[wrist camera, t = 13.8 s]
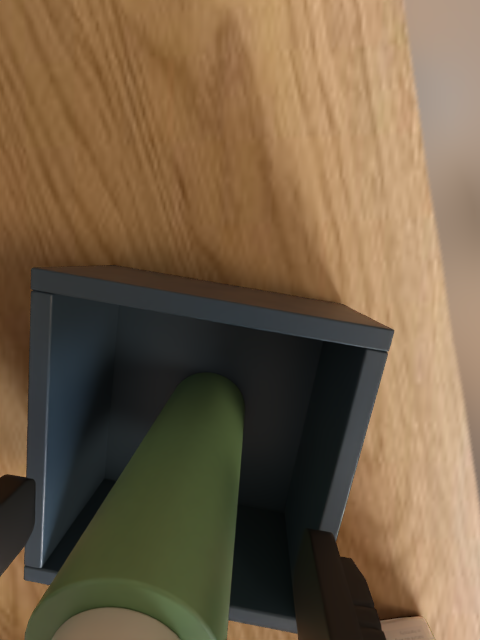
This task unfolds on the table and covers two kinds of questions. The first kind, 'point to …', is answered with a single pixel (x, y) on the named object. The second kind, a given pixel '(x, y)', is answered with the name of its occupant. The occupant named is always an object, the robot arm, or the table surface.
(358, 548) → the table surface
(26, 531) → the robot arm
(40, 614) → the green tube
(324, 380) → the open box
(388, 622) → the syrup box
